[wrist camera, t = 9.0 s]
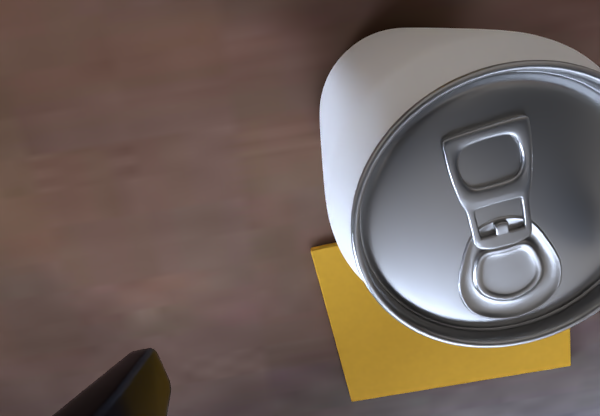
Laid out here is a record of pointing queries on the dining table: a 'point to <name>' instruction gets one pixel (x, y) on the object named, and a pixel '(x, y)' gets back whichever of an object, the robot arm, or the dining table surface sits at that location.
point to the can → (467, 180)
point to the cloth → (411, 342)
